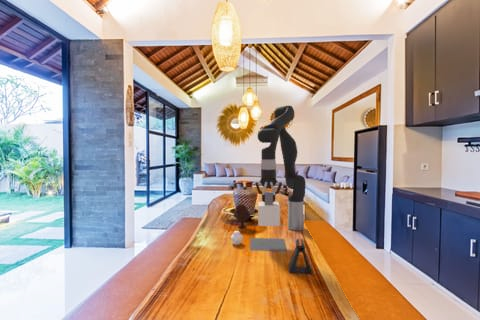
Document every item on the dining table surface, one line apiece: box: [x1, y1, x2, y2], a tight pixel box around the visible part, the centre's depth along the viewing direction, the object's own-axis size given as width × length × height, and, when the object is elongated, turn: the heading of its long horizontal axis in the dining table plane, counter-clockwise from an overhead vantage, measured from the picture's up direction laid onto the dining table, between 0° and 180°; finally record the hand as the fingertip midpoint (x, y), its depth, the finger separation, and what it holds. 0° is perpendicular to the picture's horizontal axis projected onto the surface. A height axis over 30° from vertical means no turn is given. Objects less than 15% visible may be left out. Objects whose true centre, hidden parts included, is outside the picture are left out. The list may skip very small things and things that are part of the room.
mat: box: [249, 237, 288, 252], centre depth 138 cm, size 18×18×1 cm
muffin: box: [230, 230, 244, 246], centre depth 139 cm, size 6×6×7 cm
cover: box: [257, 191, 281, 227], centre depth 137 cm, size 11×11×16 cm
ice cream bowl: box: [233, 203, 252, 229], centre depth 169 cm, size 11×11×15 cm
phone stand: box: [288, 238, 313, 275], centre depth 109 cm, size 9×6×12 cm, turn 82°
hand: (268, 201), depth 137 cm, fingers closed on cover, 4 cm apart
